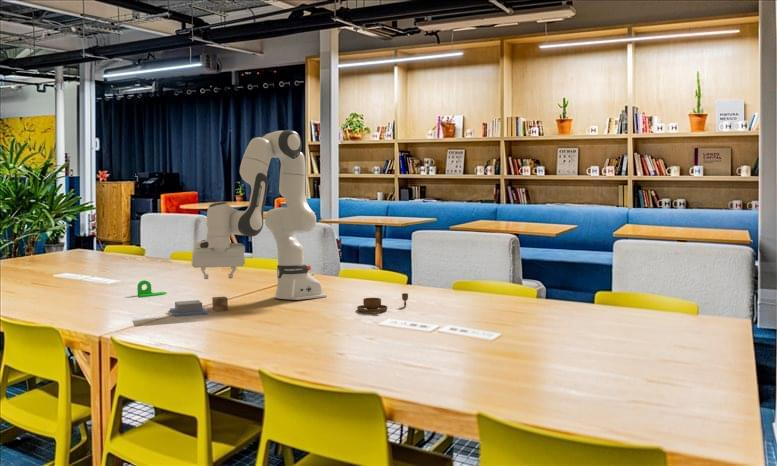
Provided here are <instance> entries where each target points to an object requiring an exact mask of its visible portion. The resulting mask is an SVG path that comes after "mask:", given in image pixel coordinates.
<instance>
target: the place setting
mask: <svg viewBox="0 0 777 466" xmlns="http://www.w3.org/2000/svg"><path fill="white" fill-rule="evenodd" d="M401 299H402V301H403V305H404V306H403V307H404V308H406V307H407V301H408V300H409V293H407V292H406V293H404V292H402V293H401ZM356 308H357V311H358V312H359V313H358V315H361V314H373V315H375V314H381V313H383V312H386V311H387V310H388V305H385V304H382V298H380V297H365V298H363V305H361V304H360V305H358V306H357V307H356Z"/></svg>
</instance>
